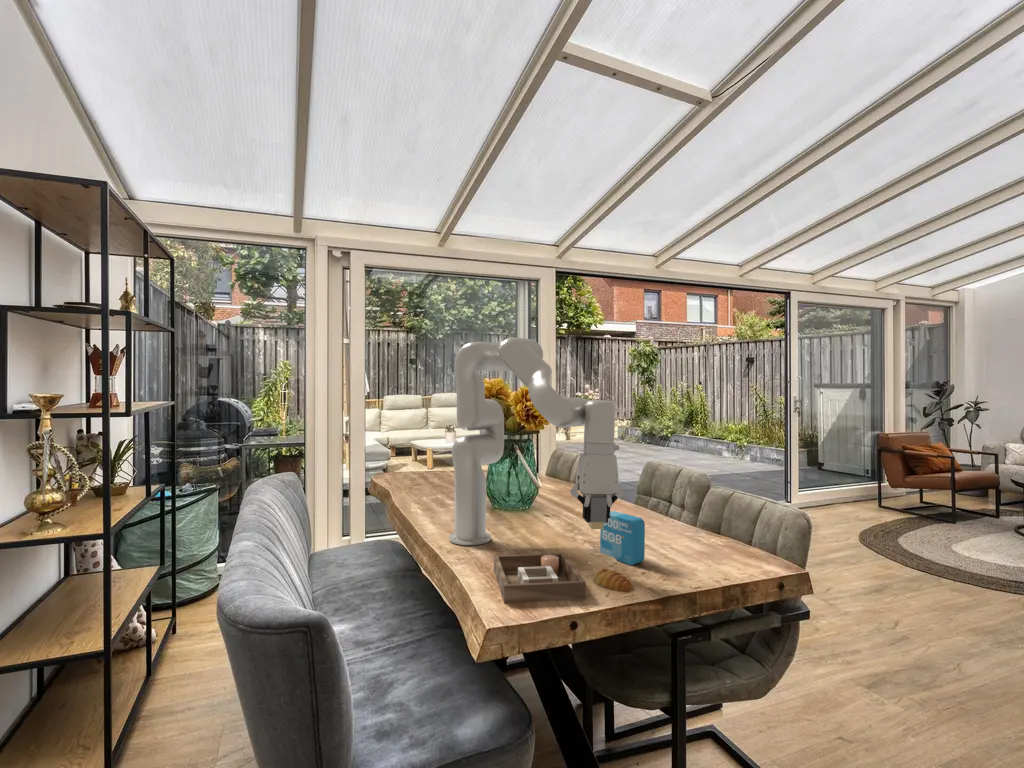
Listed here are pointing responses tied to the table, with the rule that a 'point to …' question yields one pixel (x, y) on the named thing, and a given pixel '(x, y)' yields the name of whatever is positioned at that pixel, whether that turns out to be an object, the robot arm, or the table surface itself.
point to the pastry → (612, 581)
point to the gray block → (597, 511)
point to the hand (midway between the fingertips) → (596, 520)
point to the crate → (537, 579)
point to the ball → (551, 562)
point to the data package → (623, 538)
